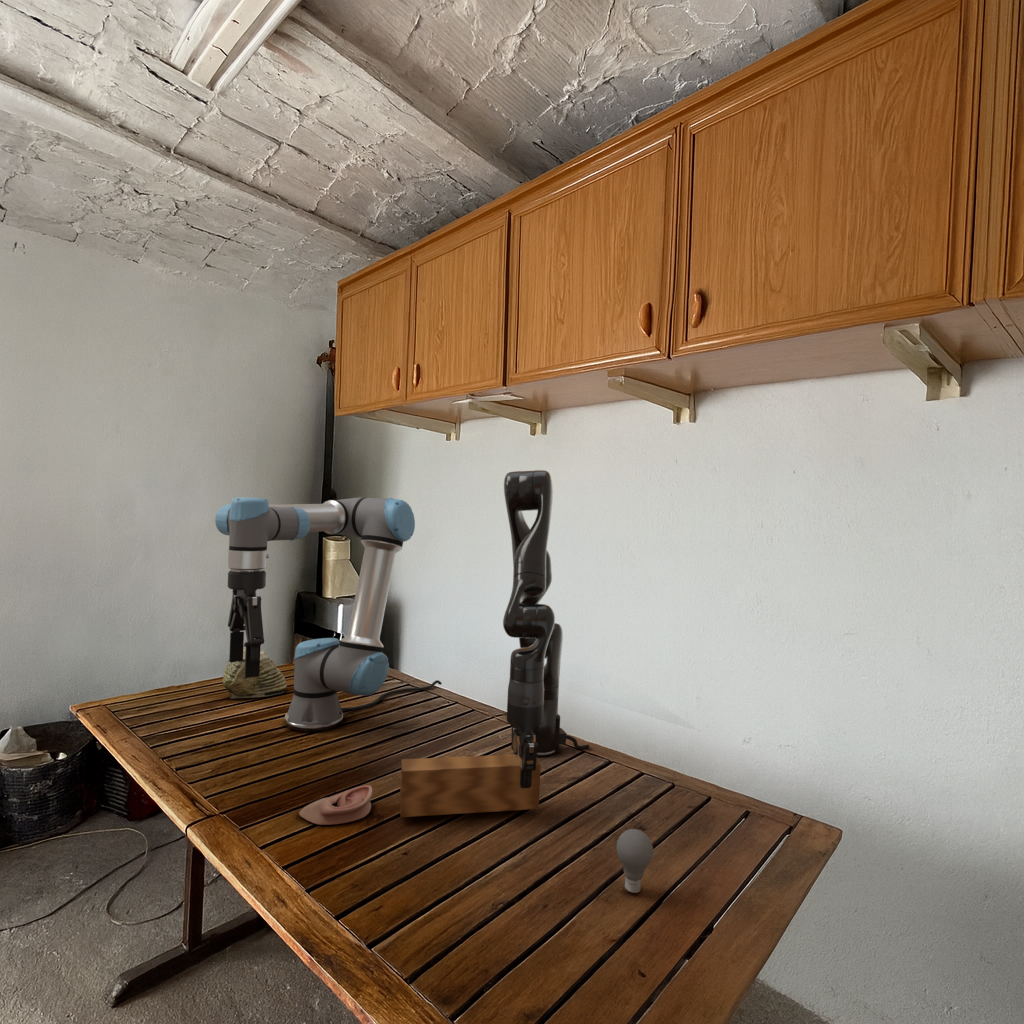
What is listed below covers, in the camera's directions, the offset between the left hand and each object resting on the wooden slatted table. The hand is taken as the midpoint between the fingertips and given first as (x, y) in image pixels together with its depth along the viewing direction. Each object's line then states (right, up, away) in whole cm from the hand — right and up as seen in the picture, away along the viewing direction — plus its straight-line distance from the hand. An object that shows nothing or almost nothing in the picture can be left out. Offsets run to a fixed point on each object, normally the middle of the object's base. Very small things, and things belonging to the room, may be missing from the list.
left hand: (243, 668), depth 136 cm
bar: (+49, -27, -6) cm, 56 cm away
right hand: (+60, -22, -4) cm, 64 cm away
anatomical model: (+22, -27, -8) cm, 36 cm away
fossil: (-23, -24, +63) cm, 71 cm away
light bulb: (+78, -30, -30) cm, 88 cm away
